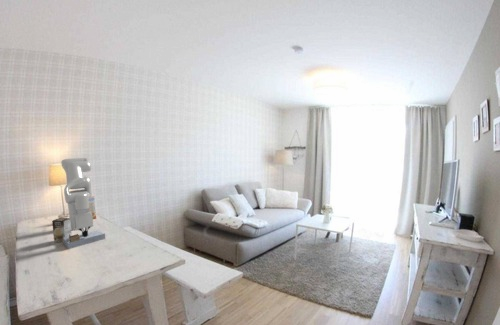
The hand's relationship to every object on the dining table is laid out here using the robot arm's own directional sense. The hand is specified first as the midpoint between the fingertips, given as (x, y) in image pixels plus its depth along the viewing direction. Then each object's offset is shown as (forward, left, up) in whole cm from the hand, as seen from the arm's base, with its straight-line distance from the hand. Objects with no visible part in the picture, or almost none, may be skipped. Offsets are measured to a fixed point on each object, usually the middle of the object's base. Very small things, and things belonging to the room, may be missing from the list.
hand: (85, 236), depth 168 cm
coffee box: (-17, -10, -4) cm, 20 cm away
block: (-1, -6, -2) cm, 6 cm away
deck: (-4, 0, -4) cm, 6 cm away
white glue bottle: (-63, +16, -4) cm, 65 cm away
